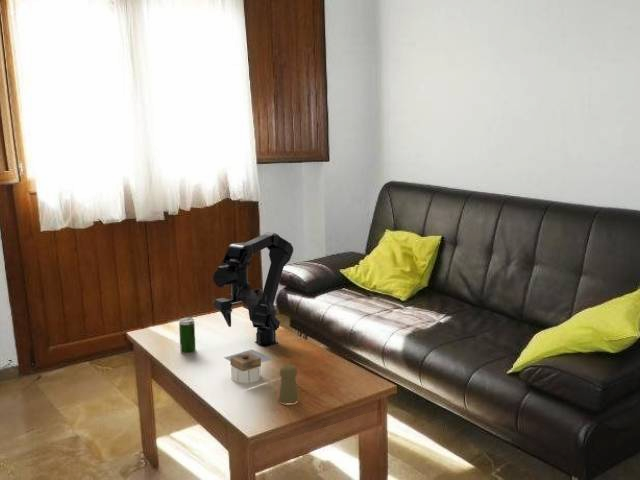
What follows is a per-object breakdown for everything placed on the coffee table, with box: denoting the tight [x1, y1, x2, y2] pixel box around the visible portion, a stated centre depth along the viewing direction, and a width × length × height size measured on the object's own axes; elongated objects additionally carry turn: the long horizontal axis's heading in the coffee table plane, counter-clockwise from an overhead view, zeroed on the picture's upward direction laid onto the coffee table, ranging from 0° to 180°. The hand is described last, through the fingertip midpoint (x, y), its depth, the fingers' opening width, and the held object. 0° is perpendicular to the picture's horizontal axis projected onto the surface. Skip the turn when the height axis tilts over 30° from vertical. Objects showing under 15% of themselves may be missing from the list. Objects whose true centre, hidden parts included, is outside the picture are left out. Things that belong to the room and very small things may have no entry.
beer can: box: [178, 317, 197, 355], centre depth 235 cm, size 5×5×12 cm
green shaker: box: [278, 364, 300, 404], centre depth 197 cm, size 6×6×11 cm
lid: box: [229, 352, 262, 371], centre depth 213 cm, size 7×7×3 cm
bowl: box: [230, 365, 261, 384], centre depth 213 cm, size 9×9×4 cm
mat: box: [224, 348, 273, 363], centre depth 230 cm, size 12×12×1 cm
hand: (240, 323), depth 230 cm, fingers open, 9 cm apart
